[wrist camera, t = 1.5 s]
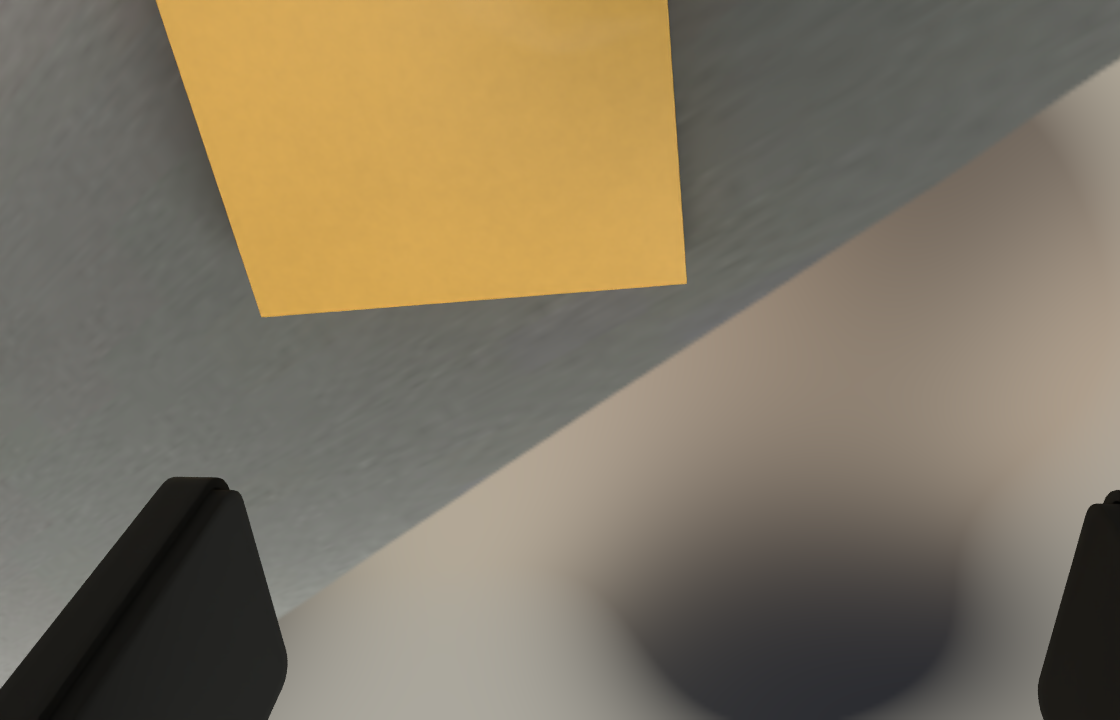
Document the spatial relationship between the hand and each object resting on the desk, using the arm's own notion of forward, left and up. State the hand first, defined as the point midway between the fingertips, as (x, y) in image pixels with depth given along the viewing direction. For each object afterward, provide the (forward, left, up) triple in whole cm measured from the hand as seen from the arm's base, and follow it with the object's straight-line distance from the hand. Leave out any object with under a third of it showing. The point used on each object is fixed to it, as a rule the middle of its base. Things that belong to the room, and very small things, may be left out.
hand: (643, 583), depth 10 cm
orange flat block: (+4, -5, -23) cm, 24 cm away
